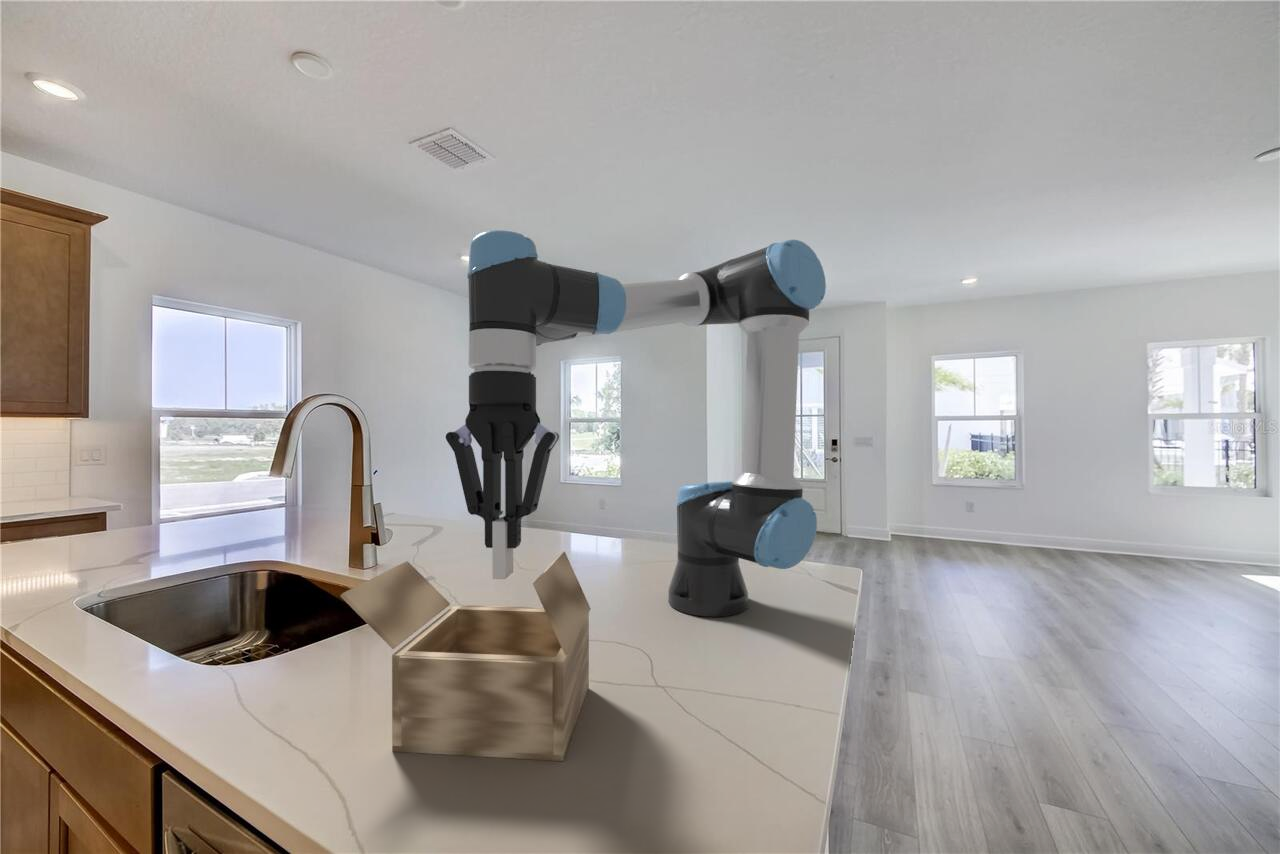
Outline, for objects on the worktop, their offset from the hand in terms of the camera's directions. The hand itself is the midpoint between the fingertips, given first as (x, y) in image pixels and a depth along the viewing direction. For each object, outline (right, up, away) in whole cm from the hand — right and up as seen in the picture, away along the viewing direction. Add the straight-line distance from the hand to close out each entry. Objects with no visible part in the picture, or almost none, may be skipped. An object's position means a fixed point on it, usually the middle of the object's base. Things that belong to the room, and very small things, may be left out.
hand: (503, 575), depth 58 cm
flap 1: (-12, -3, +1) cm, 13 cm away
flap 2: (+7, -2, -1) cm, 8 cm away
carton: (0, -16, 0) cm, 16 cm away
